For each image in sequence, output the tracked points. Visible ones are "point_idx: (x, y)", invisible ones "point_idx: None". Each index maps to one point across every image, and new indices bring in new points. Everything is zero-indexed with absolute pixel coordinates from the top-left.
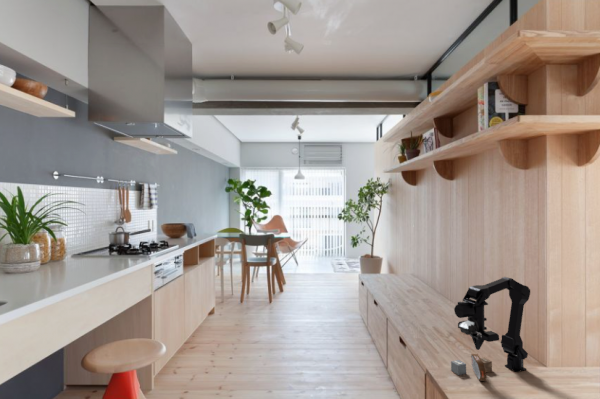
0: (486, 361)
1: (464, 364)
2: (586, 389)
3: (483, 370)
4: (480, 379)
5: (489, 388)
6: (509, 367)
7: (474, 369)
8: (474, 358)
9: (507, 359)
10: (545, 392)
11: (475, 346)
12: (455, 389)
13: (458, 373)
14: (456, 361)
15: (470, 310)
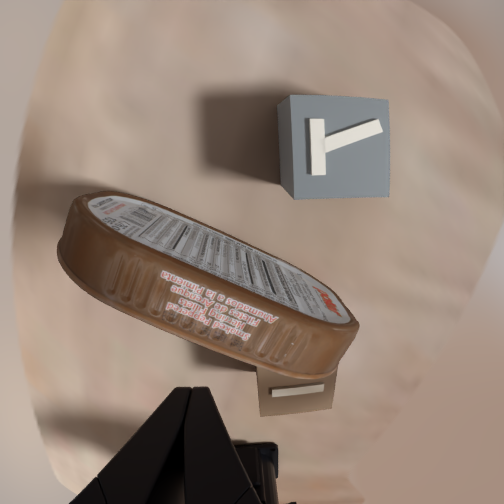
0: (272, 389)
1: (292, 178)
2: (76, 487)
3: (64, 231)
4: (112, 192)
5: (58, 200)
6: (240, 449)
7: (269, 262)
8: (228, 284)
9: (254, 478)
10: (37, 406)
11: (210, 415)
12: None
13: (278, 107)
14: (362, 137)
15: None
